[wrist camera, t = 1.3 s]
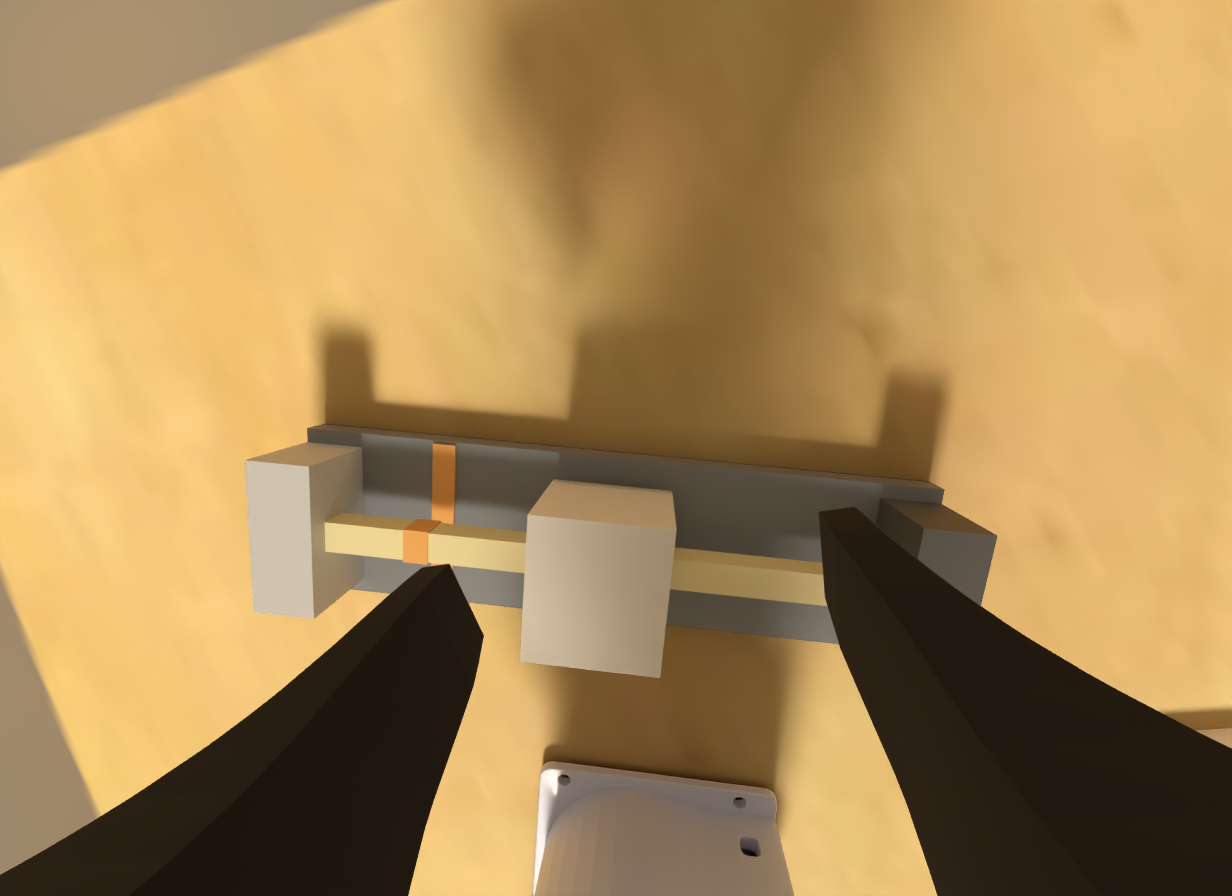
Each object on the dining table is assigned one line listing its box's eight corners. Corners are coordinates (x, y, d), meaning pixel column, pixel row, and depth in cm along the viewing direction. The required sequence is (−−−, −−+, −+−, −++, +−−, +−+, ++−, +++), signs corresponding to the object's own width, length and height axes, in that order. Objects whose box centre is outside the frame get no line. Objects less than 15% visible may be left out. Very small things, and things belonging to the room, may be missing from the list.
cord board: (929, 481, 19) (1001, 518, 15) (897, 636, 20) (956, 708, 16) (324, 423, 20) (244, 443, 16) (328, 573, 21) (254, 626, 17)
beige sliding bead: (672, 490, 18) (676, 530, 14) (659, 611, 19) (660, 678, 15) (553, 479, 18) (527, 514, 14) (546, 598, 19) (519, 661, 15)
